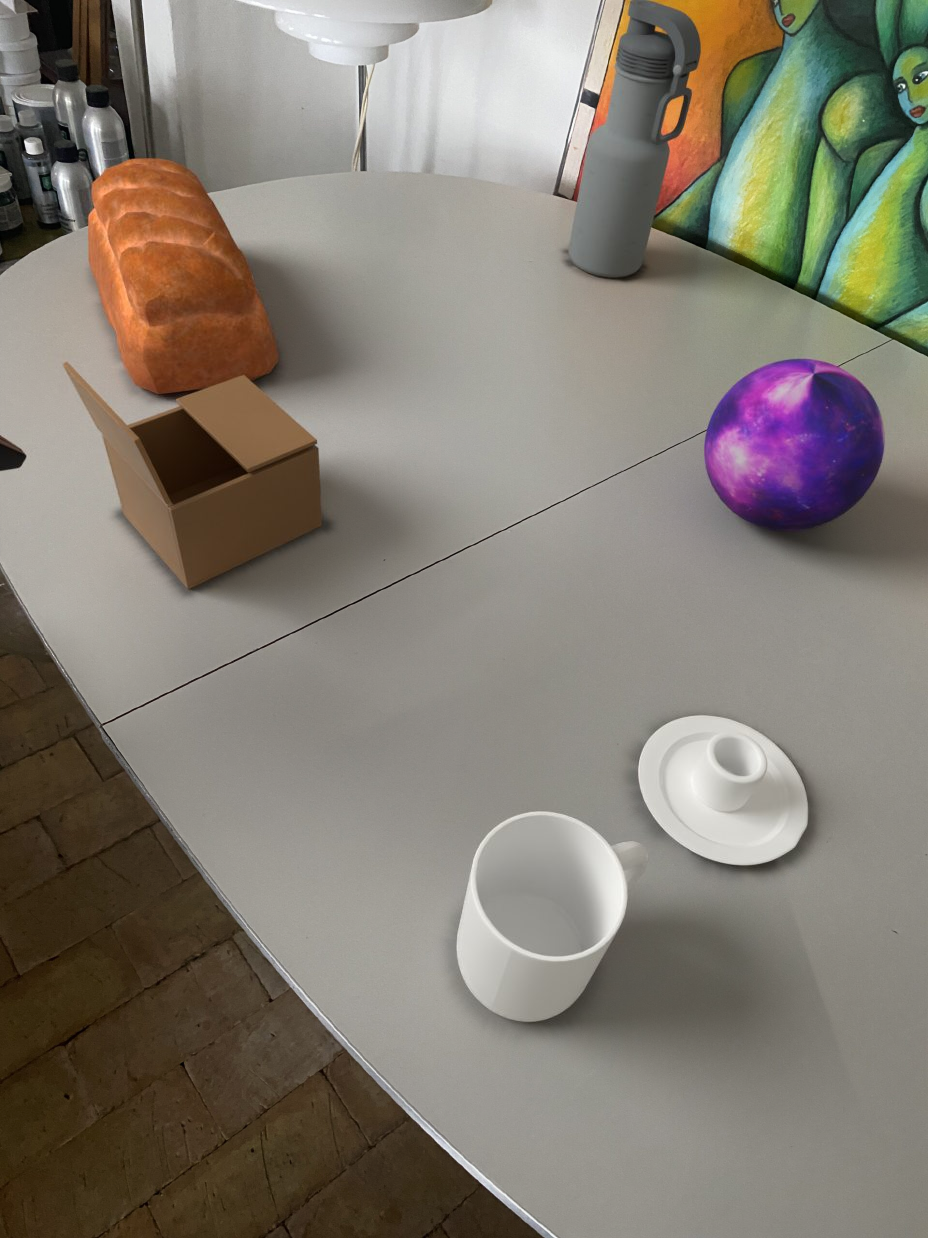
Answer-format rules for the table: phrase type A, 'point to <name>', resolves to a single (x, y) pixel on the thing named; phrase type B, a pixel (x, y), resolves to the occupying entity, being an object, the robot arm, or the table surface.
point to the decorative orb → (794, 444)
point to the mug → (542, 912)
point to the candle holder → (723, 790)
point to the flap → (117, 432)
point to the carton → (221, 480)
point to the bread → (174, 280)
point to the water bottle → (633, 141)
